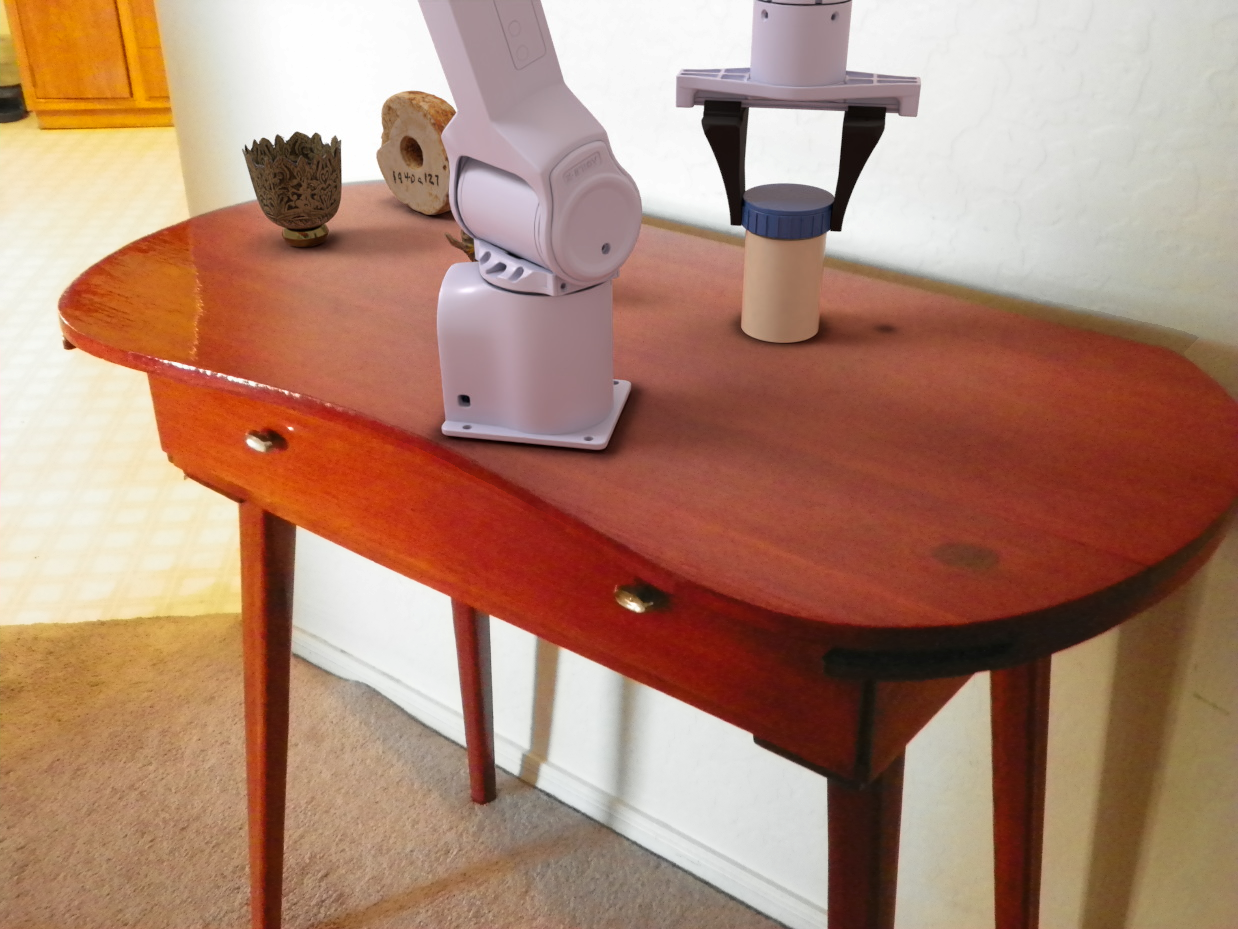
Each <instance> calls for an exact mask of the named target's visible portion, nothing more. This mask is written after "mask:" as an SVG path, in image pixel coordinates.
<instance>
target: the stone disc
mask: <svg viewBox="0 0 1238 929" xmlns="http://www.w3.org/2000/svg"><path fill="white" fill-rule="evenodd" d="M456 112H457V110H455V108H454V107H453V105H451V104H450V103H449V102H448V101H447V100H445V99H443V98H442V97H438V96H437V95H435V94H431V93H430V92H429V93H428V92H425V91H421V90H405V91H401V92H400V91H399V92H398V93H395V94H393V95H391V96H389V97H388V98H387V99H386V100H385V101H384V102H383V104H382V107H381V115H380V117H381V126H382V133H381V136H380V139H381V143H380V144H381V145H380V147H379V148H378V149H377V151H376V153H375V154H376V156H375V157H376V161H377V165H378V167H379V170H380V173H381V175H382V177H383V179H384V181H385V183H386V184H387V187H388V188H389V190H390V191H391V193H392V194H393V195H394V197H395V198H396V199H397V200H398V201H399V202H401V203H403V204H404V205H406V206H408V207H410V209H412V210H414V211H416V212H417V213H421V214H423V215H426V216H427V215H428V216H434V215H442V214H443V213H445V212H449V211H451V207H450V202H449V180H450V167H449V160H448V157H447V153H446V150H445V147H444V145H443V142H442V139H441V135H442V133H443V131H444V129H445V128H446V126H447V125H448V123H449V122H450V121H451V119H452V118H453V116H454V115H455V114H456Z"/></svg>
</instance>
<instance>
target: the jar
mask: <svg viewBox="0 0 1238 929" xmlns="http://www.w3.org/2000/svg"><path fill="white" fill-rule="evenodd" d="M827 235H828V232H827V233H825V234H823V235H819V236H815V237H811V238H802V239H780V238H771V237H766V236H761V235H757V234H755V233H752V232H750V231H748V230H746V229H745V238H744V255H743V256H744V258H743V274H742V275H743V278H742V294H741V313H740V314H741V318H740V327H741V329H742V331H743V333H745V335H747V336H749V337H751V338H753V339H756V340H759V341H763V342H768V343H775V344H777V343H778V344H787V343H788V344H789V343H798V342H803V341H806V340H809V339H811V338H813V337H814V336H816V335H817V333H818V332H819V327H820V316H821V303H822V301H821V300H822V291H823V280H824V269H825V259H826V258H825V257H826V247H827V246H826V245H827Z"/></svg>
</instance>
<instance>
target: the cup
mask: <svg viewBox="0 0 1238 929" xmlns="http://www.w3.org/2000/svg"><path fill="white" fill-rule="evenodd" d="M241 151H242V154H243V157H244V160H245V164H246V167H247V171H248V175H249V178H250V181H251V185H252V188H253V190H254V194H255V198H256V199H257V202H258V206H259V207H260V209H261V211H262V213H263V214H264V216H265V217H266V218H267V219H268V220H269V221H270V222H271V223H273V224H274V225H277V226H278V227H281V228H282V230H281V237H282V239H283V240H284V242H285V243H286V244H287V245H289V246H292V247H296V248H309V247H310V248H311V247H314V246H318V245H321V244H323V243H324V242H325V241H326V240H327V239H328V236H329V233H330V229H329V227H328V225H327V223H328V222H330V221H331V220H332V219H333V218H334V217H335V216H336V215H337V213H338V211H339V208H340V205H341V200H342V190H343V189H342V188H343V187H342V185H343V184H342V182H343V179H342V178H343V177H342V174H343V173H342V171H343V170H342V169H343V168H342V139H339V138H338V136H337V135H334V136H332V137H331V140H330V142H325V143H324V142H323V139H322V135H321V134H320V133H318V132H314V133H313V134H312V135H311V137H310V136H309V135H308V134H306V133H303V132H300V131H294V133H293V134H291V136H289V138H288V139H287V140H286V139H285V136H282V135H280V134H279V133H277V134H275V137H274V142H273V143H272V141H270V139H268V138H266V137H262V138H260V140H259V141H257V140H256V139H255V138H254V139H253V141H252V145H251V147H250V148H248V146H247V144H246V143H245V144H244V148H241Z"/></svg>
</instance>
